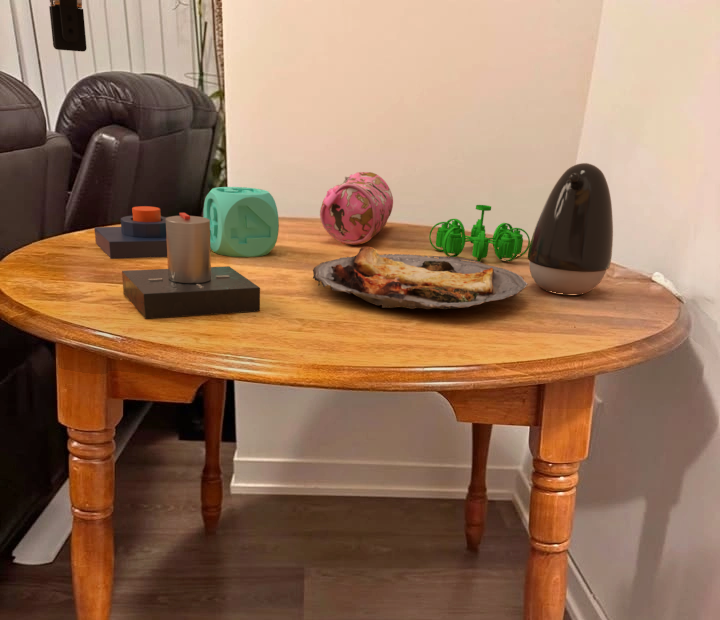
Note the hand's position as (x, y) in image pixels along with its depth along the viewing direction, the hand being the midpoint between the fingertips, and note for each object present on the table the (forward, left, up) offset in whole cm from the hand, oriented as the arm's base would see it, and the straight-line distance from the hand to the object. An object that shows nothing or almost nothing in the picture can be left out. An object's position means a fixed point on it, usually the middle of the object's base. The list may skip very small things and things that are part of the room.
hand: (70, 50), depth 84 cm
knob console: (+7, -19, -23) cm, 31 cm away
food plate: (+34, -21, -23) cm, 46 cm away
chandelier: (+56, -2, -23) cm, 61 cm away
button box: (+9, +8, -23) cm, 26 cm away
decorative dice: (+21, +5, -23) cm, 32 cm away
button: (+9, +8, -19) cm, 23 cm away
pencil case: (+44, +14, -23) cm, 52 cm away
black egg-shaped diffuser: (+54, -24, -23) cm, 64 cm away
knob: (+7, -19, -21) cm, 29 cm away
